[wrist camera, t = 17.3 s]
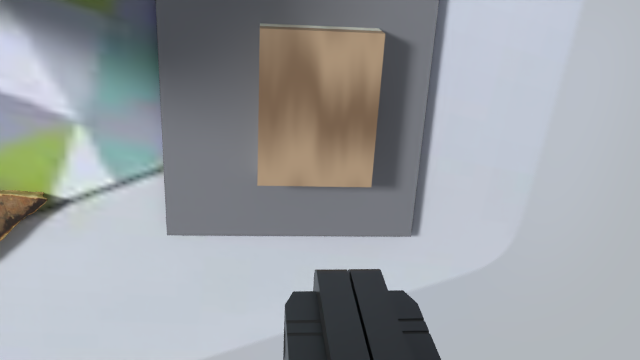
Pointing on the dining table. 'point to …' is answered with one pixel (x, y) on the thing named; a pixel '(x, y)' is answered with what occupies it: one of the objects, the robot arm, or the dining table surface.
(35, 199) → the shard
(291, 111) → the slab
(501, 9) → the dining table surface
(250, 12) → the mat
